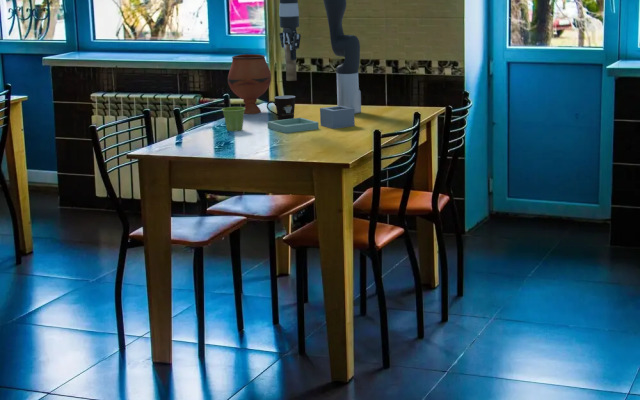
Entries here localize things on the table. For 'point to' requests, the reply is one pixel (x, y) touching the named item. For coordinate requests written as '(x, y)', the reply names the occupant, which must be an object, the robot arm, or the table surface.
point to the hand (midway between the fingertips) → (290, 59)
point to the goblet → (249, 79)
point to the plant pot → (234, 118)
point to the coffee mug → (284, 107)
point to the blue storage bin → (337, 117)
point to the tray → (293, 125)
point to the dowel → (290, 65)
